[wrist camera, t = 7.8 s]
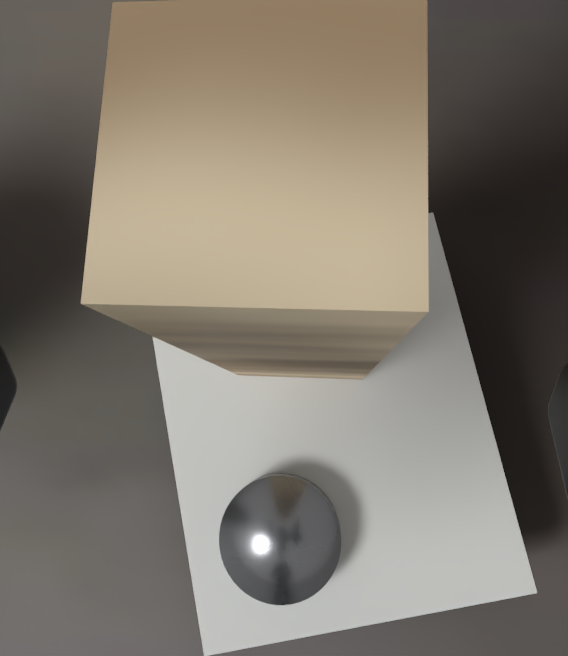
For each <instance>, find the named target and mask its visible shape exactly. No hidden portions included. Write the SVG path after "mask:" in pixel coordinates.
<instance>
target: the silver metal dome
mask: <svg viewBox="0 0 568 656" xmlns="http://www.w3.org/2000/svg"><path fill="white" fill-rule="evenodd" d="M219 548H220V554H221V558H222V561H223V564H224V567H225V569H226V571H227V573H228V574H229V576H230V577H231V579H232V580H233V582H234V583H235V584H236V585H237V586H238V587H239V588H240V589H241V590H242V591H243V592H244V593H246V594H247V595H249V596H250V597H252V598H254V599H256V600H258V601H261V602H264V603H267V604H272V605H290V604H295V603H299V602H302V601H304V600H306V599H308V598H310V597H312V596H313V595H315V594H316V593H317V592H319V591H320V590H321V589H322V588H323V587H324V586H325V585H326V584H327V582H328V581H329V579H330V578H331V577H332V575H333V573H334V571H335V569H336V566H337V564H338V561H339V557H340V552H341V530H340V523H339V519H338V516H337V513H336V510H335V508H334V506H333V504H332V502H331V501H330V499H329V498H328V496H327V495H326V494H325V493H324V492H323V491H322V490H321V489H320V488H319V487H318V486H317V485H316V484H314V483H313V482H311V481H309V480H308V479H306V478H303V477H301V476H298V475H294V474H289V473H274V474H268V475H265V476H262V477H260V478H257V479H255V480H254V481H252V482H250V483H249V484H248V485H246V486H245V487H244V488H243V489H241V490H240V491H239V492H238V493H237V494H236V495H235V496H234V498H233V499H232V500H231V502H230V503H229V505H228V507H227V508H226V510H225V513H224V515H223V517H222V521H221V525H220V531H219Z"/></svg>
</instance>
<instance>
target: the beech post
mask: <svg viewBox="0 0 568 656" xmlns="http://www.w3.org/2000/svg"><path fill="white" fill-rule="evenodd" d="M81 304H82V305H84V306H87V307H89V308H91V309H93V310H95V311H98V312H100V313H102V314H104V315H106V316H109V317H111V318H113V319H115V320H117V321H120V322H122V323H124V324H126V325H128V326H131V327H133V328H135V329H137V330H139V331H142V332H144V333H146V334H148V335H151V336H153V337H155V338H157V339H159V340H162V341H164V342H166V343H168V344H170V345H173V346H175V347H177V348H179V349H181V350H184V351H186V352H188V353H190V354H192V355H195V356H197V357H199V358H201V359H203V360H206V361H208V362H210V363H212V364H214V365H217V366H219V367H221V368H223V369H225V370H228V371H230V372H232V373H234V374H236V375H244V376H273V377H301V378H330V379H359V380H362V379H363V378H364V377H365V376H366V375H367V374H368V373H369V372H370V371H371V370H372V369H373V368H374V367H375V366H376V365H377V364H378V363H379V362H380V361H381V360H382V359H383V358H384V357H385V356H386V355H387V354H388V353H389V352H390V351H391V350H392V349H393V348H394V347H395V346H396V345H397V344H398V343H399V342H400V341H401V340H402V339H403V338H404V337H405V336H406V335H407V334H408V333H409V332H410V331H411V329H412V328H413V327H414V326H415V325H416V324H417V323H418V322H419V321H420V320H421V319H422V318H423V317H424V316H425V315H426V314H427V313H428V312H429V274H428V70H427V0H174V1H139V2H113V5H112V14H111V24H110V33H109V42H108V52H107V61H106V71H105V80H104V89H103V99H102V108H101V118H100V127H99V136H98V146H97V155H96V165H95V174H94V183H93V193H92V202H91V212H90V221H89V230H88V240H87V249H86V259H85V268H84V277H83V287H82V296H81Z"/></svg>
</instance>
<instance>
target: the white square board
mask: <svg viewBox="0 0 568 656" xmlns="http://www.w3.org/2000/svg"><path fill="white" fill-rule="evenodd" d="M428 274H429V312H428V313H427V314H426V315H425V316H424V317H423V318H422V319H421V320H420V321H419V322H418V323H417V324H416V325H415V326H414V327H413V328H412V329H411V331H410V332H409V333H408V334H407V335H406V336H405V337H404V338H403V339H402V340H401V341H400V342H399V343H398V344H397V345H396V346H395V347H394V348H393V349H392V350H391V351H390V352H389V353H388V354H387V355H386V356H385V357H384V358H383V359H382V360H381V361H380V362H379V363H378V364H377V365H376V366H375V367H374V368H373V369H372V370H371V371H370V372H369V373H368V374H367V375H366V376H365V377H364V378H363V379H362V380H359V379H330V378H301V377H273V376H244V375H236V374H234V373H232V372H230V371H228V370H225V369H223V368H221V367H219V366H217V365H214V364H212V363H210V362H208V361H206V360H203V359H201V358H199V357H197V356H195V355H192V354H190V353H188V352H186V351H184V350H181V349H179V348H177V347H175V346H173V345H170V344H168V343H166V342H164V341H162V340H159V339H157V338H155V337H153V342H154V349H155V355H156V361H157V367H158V373H159V380H160V386H161V392H162V398H163V404H164V411H165V417H166V423H167V429H168V435H169V441H170V448H171V454H172V460H173V466H174V472H175V479H176V485H177V491H178V497H179V503H180V510H181V516H182V522H183V528H184V534H185V540H186V547H187V553H188V559H189V565H190V571H191V578H192V584H193V590H194V596H195V602H196V609H197V615H198V621H199V627H200V633H201V639H202V646H203V652H204V656H208V655H214V654H219V653H224V652H229V651H235V650H240V649H245V648H250V647H256V646H261V645H266V644H271V643H277V642H282V641H287V640H293V639H298V638H303V637H308V636H314V635H319V634H324V633H329V632H335V631H340V630H345V629H350V628H356V627H361V626H366V625H372V624H377V623H382V622H387V621H393V620H398V619H403V618H408V617H414V616H419V615H424V614H430V613H435V612H440V611H445V610H451V609H456V608H461V607H466V606H472V605H477V604H482V603H487V602H493V601H498V600H503V599H509V598H514V597H519V596H524V595H530V594H535V593H537V590H536V587H535V583H534V579H533V576H532V572H531V568H530V565H529V561H528V557H527V554H526V550H525V546H524V543H523V539H522V535H521V532H520V528H519V525H518V521H517V517H516V514H515V510H514V506H513V503H512V499H511V495H510V492H509V488H508V484H507V481H506V477H505V473H504V470H503V466H502V462H501V459H500V455H499V451H498V448H497V444H496V440H495V437H494V433H493V429H492V426H491V422H490V419H489V415H488V411H487V408H486V404H485V400H484V397H483V393H482V389H481V386H480V382H479V378H478V375H477V371H476V367H475V364H474V360H473V356H472V353H471V349H470V345H469V342H468V338H467V334H466V331H465V327H464V323H463V320H462V316H461V313H460V309H459V305H458V302H457V298H456V294H455V291H454V287H453V283H452V280H451V276H450V272H449V269H448V265H447V261H446V258H445V254H444V250H443V247H442V243H441V239H440V236H439V232H438V228H437V225H436V221H435V217H434V214H433V212H432V213H428ZM274 473H289V474H294V475H298V476H301V477H303V478H306V479H308V480H309V481H311V482H313V483H314V484H316V485H317V486H318V487H319V488H320V489H321V490H322V491H323V492H324V493H325V494H326V495H327V496H328V498H329V499H330V501H331V502H332V504H333V506H334V508H335V510H336V513H337V516H338V519H339V523H340V530H341V552H340V557H339V561H338V564H337V566H336V569H335V571H334V573H333V575H332V577H331V578H330V579H329V581H328V582H327V584H326V585H325V586H324V587H323V588H322V589H321V590H320V591H319V592H317V593H316V594H315V595H313V596H312V597H310V598H308V599H306V600H304V601H302V602H299V603H295V604H290V605H272V604H267V603H264V602H261V601H258V600H256V599H254V598H252V597H250V596H249V595H247V594H246V593H244V592H243V591H242V590H241V589H240V588H239V587H238V586H237V585H236V584H235V583H234V582H233V580H232V579H231V577H230V576H229V574H228V573H227V571H226V569H225V567H224V564H223V561H222V558H221V554H220V548H219V531H220V525H221V521H222V517H223V515H224V513H225V510H226V508H227V507H228V505H229V503H230V502H231V500H232V499H233V498H234V496H235V495H236V494H237V493H238V492H239V491H240V490H241V489H243V488H244V487H245V486H246V485H248V484H249V483H250V482H252V481H254V480H255V479H257V478H260V477H262V476H265V475H268V474H274Z"/></svg>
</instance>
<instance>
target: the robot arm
mask: <svg viewBox="0 0 568 656" xmlns="http://www.w3.org/2000/svg"><path fill="white" fill-rule="evenodd" d="M16 390H17V382H16V378H15V376H14V373H13V371H12V368H11V366H10V363H9V361H8V359H7V356H6V354H5V351H4V349H3V347H2V346H1V345H0V430H1V428H2V425H3V423H4V421H5V418H6V416H7V413H8V411H9V409H10V406H11V404H12V402H13V399H14V397H15V394H16ZM548 418H549V422H550V427H551V431H552V435H553V439H554V443H555V448H556V452H557V456H558V460H559V465H560V469H561V473H562V477H563V481H564V486H565V490H566V494H567V498H568V364H566V365H564V366H563V367H562V369H561V371H560V373H559V376H558V379H557V382H556V384H555V387H554V390H553V393H552V396H551V398H550V401H549V405H548Z"/></svg>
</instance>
